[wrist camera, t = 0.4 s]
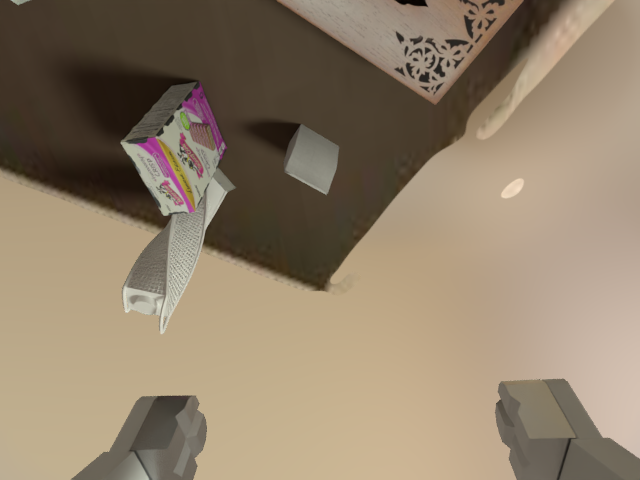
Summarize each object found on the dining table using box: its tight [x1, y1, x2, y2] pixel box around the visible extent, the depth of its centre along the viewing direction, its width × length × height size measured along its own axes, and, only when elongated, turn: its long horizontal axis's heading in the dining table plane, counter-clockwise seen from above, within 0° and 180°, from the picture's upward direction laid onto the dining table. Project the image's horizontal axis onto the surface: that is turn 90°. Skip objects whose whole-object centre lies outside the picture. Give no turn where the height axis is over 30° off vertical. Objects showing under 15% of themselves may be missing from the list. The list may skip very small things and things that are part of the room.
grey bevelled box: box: [283, 124, 339, 195], centre depth 58 cm, size 4×7×10 cm, turn 59°
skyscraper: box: [122, 167, 236, 334], centre depth 59 cm, size 8×8×28 cm
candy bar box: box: [120, 81, 227, 216], centre depth 54 cm, size 11×5×16 cm, turn 12°
